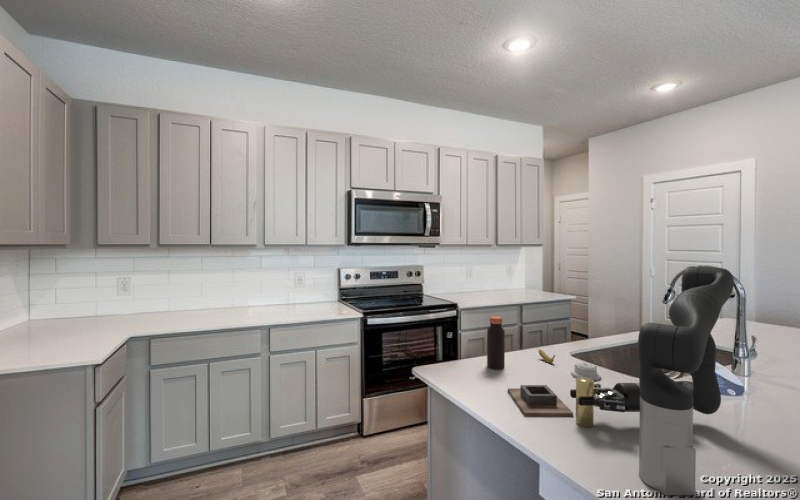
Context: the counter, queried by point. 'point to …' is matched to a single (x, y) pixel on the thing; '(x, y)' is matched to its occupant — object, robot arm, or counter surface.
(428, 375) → the counter surface
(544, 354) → the banana
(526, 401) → the mounting plate
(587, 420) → the post
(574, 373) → the mechanical component
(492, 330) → the bottle
